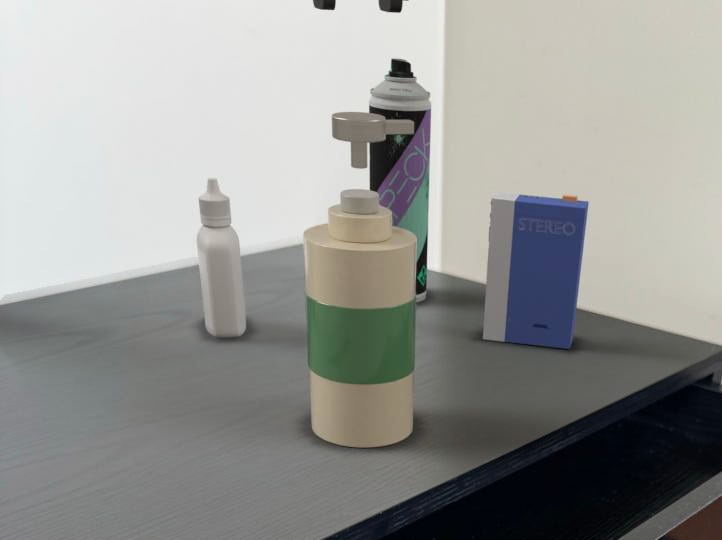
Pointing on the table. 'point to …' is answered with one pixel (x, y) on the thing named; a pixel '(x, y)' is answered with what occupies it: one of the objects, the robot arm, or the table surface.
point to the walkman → (534, 269)
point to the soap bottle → (360, 323)
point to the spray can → (404, 159)
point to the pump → (365, 132)
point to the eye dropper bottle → (220, 265)
